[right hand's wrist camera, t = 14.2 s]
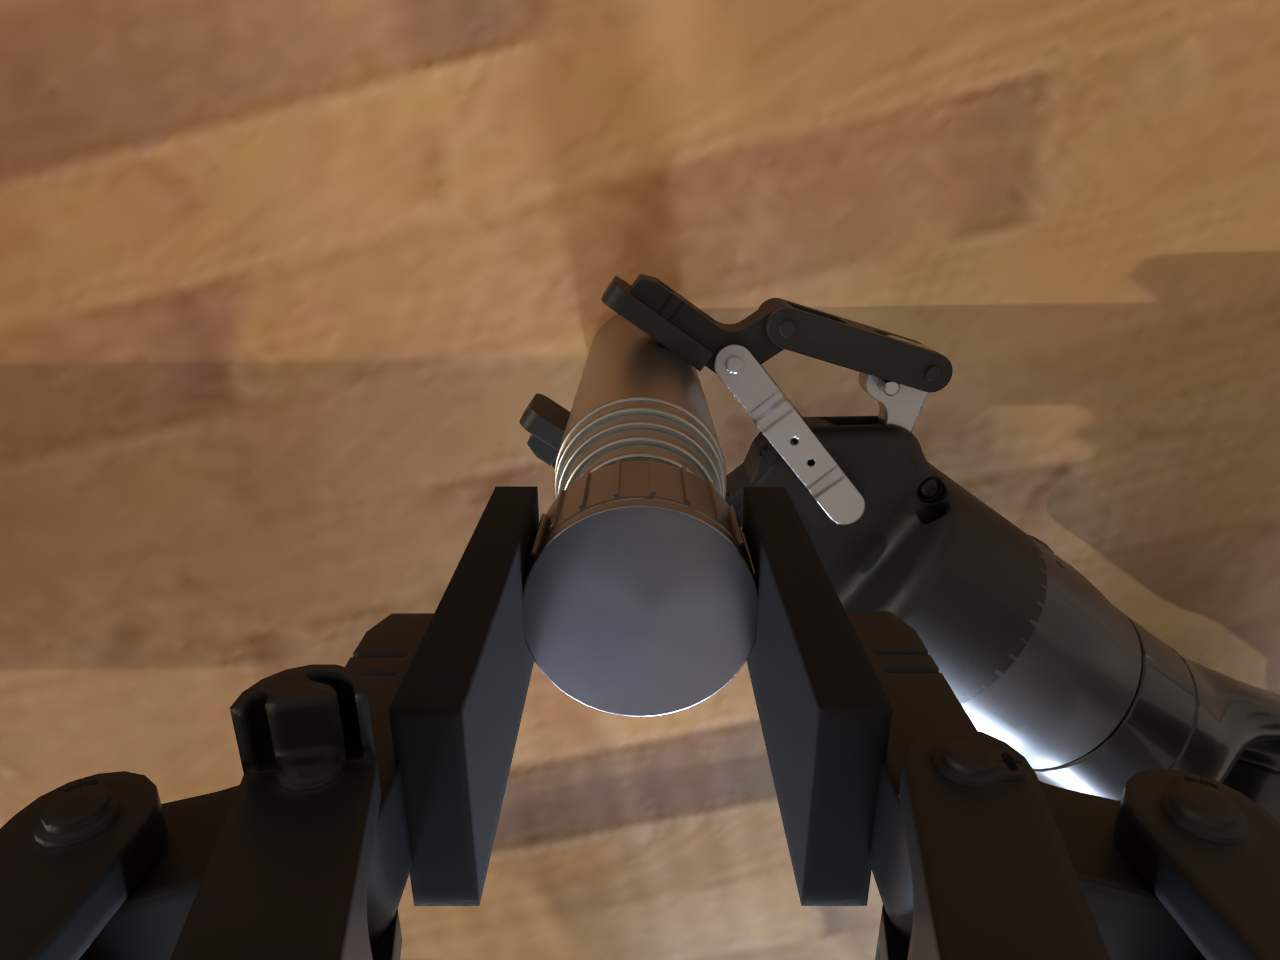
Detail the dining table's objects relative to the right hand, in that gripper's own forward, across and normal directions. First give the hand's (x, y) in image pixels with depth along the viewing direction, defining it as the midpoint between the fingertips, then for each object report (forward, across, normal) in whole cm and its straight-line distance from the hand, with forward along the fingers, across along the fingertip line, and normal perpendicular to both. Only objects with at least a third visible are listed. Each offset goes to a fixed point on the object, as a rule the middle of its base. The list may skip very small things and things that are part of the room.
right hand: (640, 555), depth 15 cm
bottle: (+18, 0, 0) cm, 18 cm away
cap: (-2, 0, 0) cm, 2 cm away
